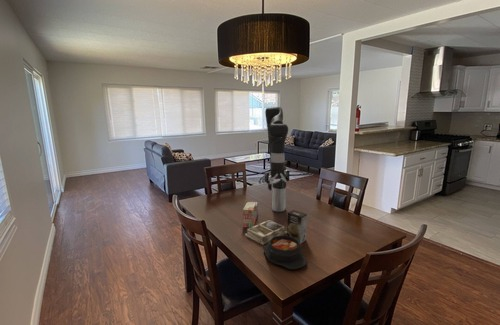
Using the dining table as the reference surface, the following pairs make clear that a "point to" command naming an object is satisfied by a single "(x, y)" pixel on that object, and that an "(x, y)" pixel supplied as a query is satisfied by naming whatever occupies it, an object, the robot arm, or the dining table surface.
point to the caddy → (265, 231)
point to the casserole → (285, 252)
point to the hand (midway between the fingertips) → (277, 189)
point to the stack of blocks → (250, 214)
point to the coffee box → (297, 225)
